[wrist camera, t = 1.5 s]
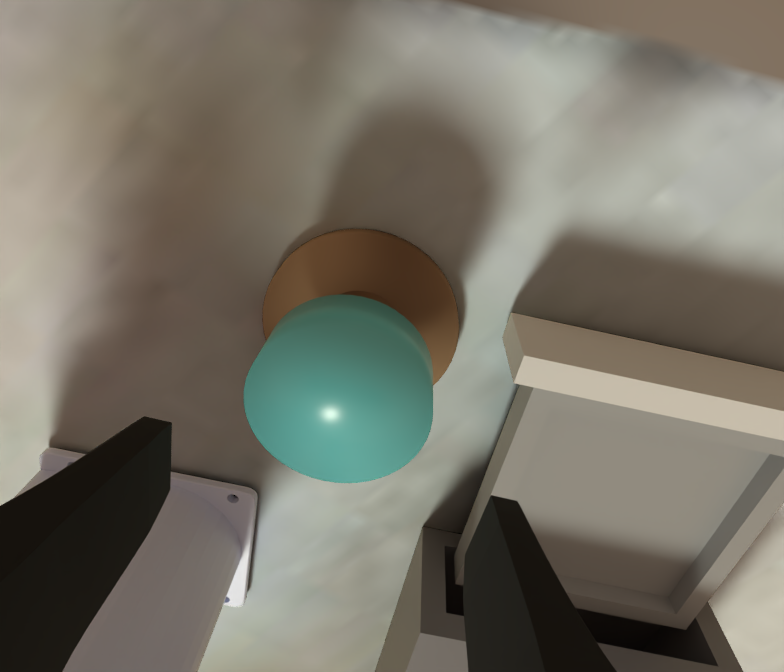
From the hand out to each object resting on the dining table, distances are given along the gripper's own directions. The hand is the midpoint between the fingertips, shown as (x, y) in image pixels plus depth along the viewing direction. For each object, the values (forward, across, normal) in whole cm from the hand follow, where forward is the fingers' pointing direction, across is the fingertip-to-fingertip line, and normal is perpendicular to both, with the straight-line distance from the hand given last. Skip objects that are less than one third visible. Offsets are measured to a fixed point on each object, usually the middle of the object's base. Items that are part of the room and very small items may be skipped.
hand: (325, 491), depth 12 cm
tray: (+8, -11, +4) cm, 14 cm away
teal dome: (+5, 0, 0) cm, 5 cm away
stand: (+8, 0, 0) cm, 9 cm away
